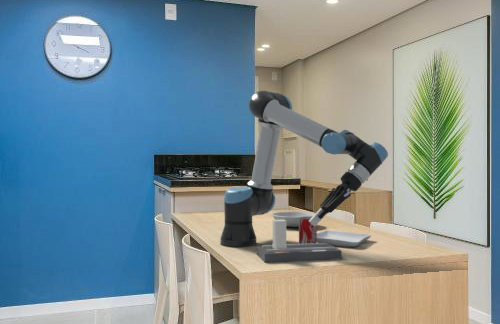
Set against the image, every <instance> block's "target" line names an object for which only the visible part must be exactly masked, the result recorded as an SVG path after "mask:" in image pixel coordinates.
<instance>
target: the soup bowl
mask: <svg viewBox="0 0 500 324" xmlns="http://www.w3.org/2000/svg"><path fill="white" fill-rule="evenodd" d="M315 214H316V212H315V213H314V212H309V211H296V210H295V211H293V210H291V211H289V210H288V211H274V212H271V213H270V216H271V217H273V220H285V221H286V227H290V228H297V227H298V228H299V221H300V219H301V217H306V216H308V217H313V216H314V215H315Z"/></svg>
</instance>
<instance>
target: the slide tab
mask: <svg viewBox="0 0 500 324" xmlns="http://www.w3.org/2000/svg"><path fill="white" fill-rule="evenodd" d="M286 244H287V226H286V221H285V220H275V219H272V244H271V245H272V248H274V249H287V246H286Z"/></svg>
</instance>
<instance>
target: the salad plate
mask: <svg viewBox="0 0 500 324" xmlns="http://www.w3.org/2000/svg"><path fill="white" fill-rule="evenodd" d="M371 237H372V234H368V233H358V232H349V231H339V230H338V231H337V230H324V231H321V232H320V231H319V232H318V233H317V242H316V243H327V244H330V245H332V246H334V247H344V248H353V247H357V246H359V245H360V244H362V243H363V242H366V241H368V240H369V239H370V238H371Z"/></svg>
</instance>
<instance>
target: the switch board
mask: <svg viewBox="0 0 500 324" xmlns="http://www.w3.org/2000/svg"><path fill="white" fill-rule="evenodd" d="M286 246H287V249H274V248H272V244H267V245H266V244H262V245H260V246H259V245H258V246H256V255H257V257H259V259H260V260H262V262H263V263H282V262H283V263H284V262H285V263H286V262H303V261H307V262H308V261H327V260H342V250H341V249H339V248H337V246H333V245H330V244H327V243H309V244H299V243H289V244H287V243H286Z"/></svg>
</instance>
